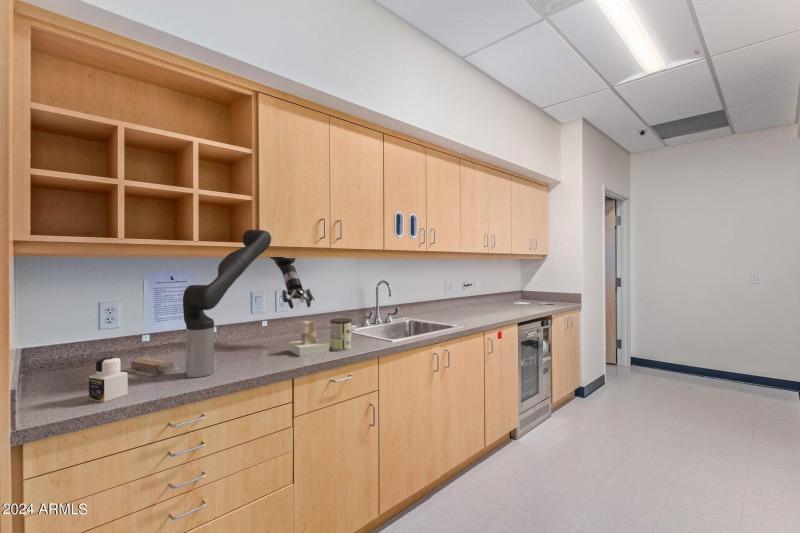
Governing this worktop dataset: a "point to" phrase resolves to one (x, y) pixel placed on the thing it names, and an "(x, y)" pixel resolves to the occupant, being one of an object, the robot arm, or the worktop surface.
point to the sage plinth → (308, 348)
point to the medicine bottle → (108, 380)
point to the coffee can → (340, 334)
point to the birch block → (308, 332)
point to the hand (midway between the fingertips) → (300, 307)
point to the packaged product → (151, 366)
